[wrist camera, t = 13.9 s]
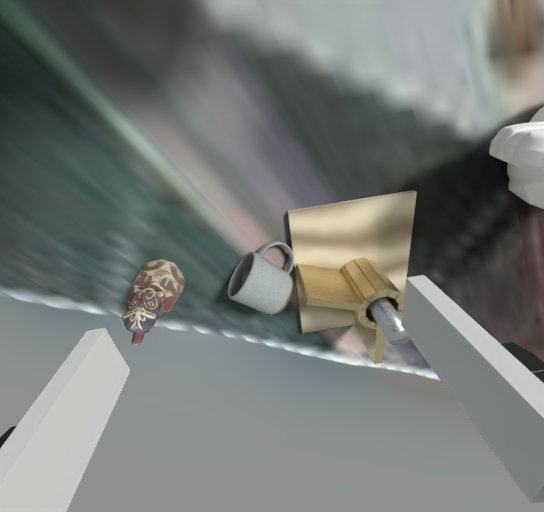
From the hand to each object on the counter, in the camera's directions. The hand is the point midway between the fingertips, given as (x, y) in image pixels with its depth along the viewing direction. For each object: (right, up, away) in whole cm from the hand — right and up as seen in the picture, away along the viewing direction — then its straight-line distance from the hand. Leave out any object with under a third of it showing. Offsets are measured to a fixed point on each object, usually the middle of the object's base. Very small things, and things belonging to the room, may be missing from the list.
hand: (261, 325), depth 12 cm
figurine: (-17, 0, +31) cm, 36 cm away
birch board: (+14, +1, +33) cm, 36 cm away
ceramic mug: (-1, +2, +32) cm, 32 cm away
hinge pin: (+15, 0, +33) cm, 36 cm away
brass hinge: (+12, -4, +35) cm, 37 cm away
